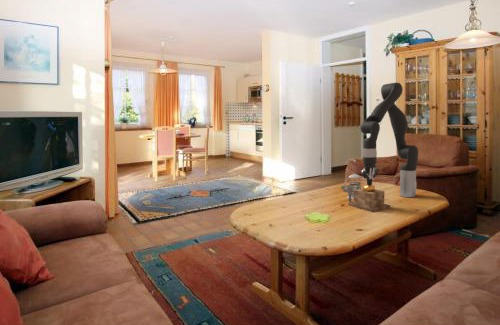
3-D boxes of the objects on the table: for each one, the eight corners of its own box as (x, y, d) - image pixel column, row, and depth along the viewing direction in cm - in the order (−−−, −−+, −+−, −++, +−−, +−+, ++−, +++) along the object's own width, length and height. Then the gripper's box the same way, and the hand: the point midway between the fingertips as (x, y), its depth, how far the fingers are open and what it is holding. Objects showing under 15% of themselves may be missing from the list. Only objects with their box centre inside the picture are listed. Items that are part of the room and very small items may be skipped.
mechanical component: (358, 202, 215) (358, 186, 214) (341, 201, 217) (341, 186, 216) (358, 201, 218) (358, 185, 217) (341, 200, 220) (341, 185, 219)
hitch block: (366, 201, 216) (366, 186, 215) (390, 207, 200) (390, 191, 199) (348, 205, 209) (348, 189, 208) (371, 211, 193) (371, 195, 192)
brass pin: (368, 200, 209) (369, 184, 207) (376, 202, 203) (377, 185, 202) (361, 202, 206) (361, 185, 204) (369, 204, 200) (369, 187, 199)
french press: (360, 199, 221) (360, 160, 218) (342, 197, 227) (342, 160, 224) (364, 196, 230) (364, 158, 226) (346, 194, 236) (346, 158, 232)
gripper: (372, 154, 207) (372, 182, 210) (356, 156, 201) (356, 185, 203) (383, 155, 201) (382, 184, 203) (366, 157, 195) (366, 187, 197)
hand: (369, 185), depth 203 cm, fingers closed
